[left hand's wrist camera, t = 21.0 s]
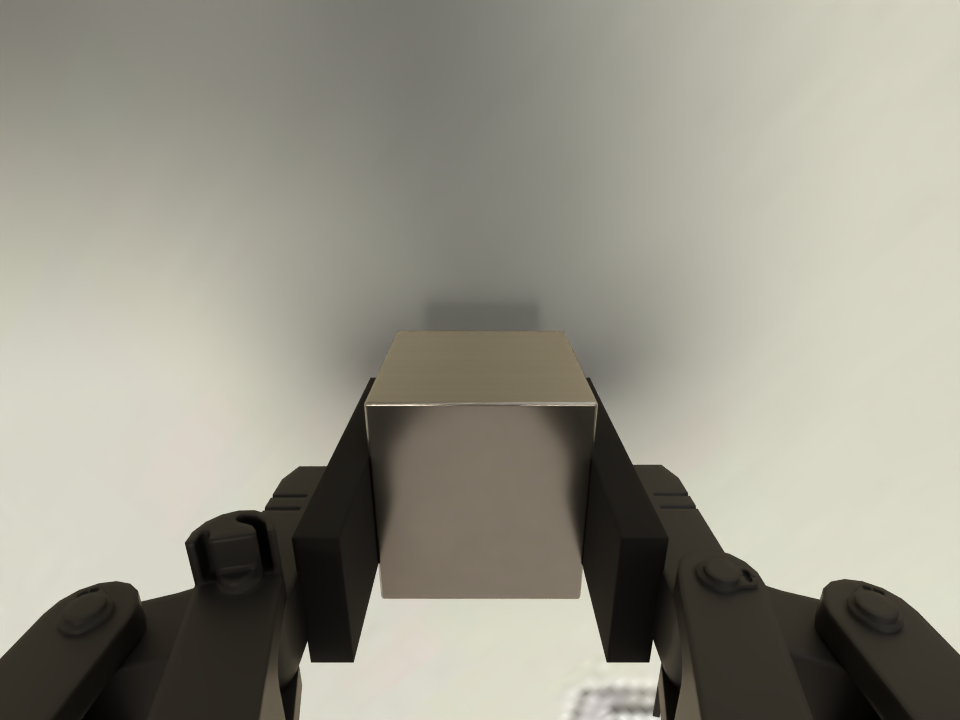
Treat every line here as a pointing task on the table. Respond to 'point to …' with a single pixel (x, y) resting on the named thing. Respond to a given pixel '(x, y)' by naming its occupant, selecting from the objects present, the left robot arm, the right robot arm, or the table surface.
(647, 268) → the table surface
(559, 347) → the block
